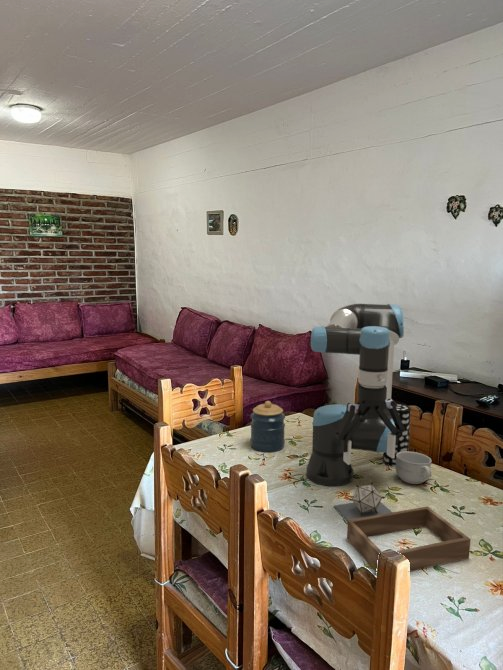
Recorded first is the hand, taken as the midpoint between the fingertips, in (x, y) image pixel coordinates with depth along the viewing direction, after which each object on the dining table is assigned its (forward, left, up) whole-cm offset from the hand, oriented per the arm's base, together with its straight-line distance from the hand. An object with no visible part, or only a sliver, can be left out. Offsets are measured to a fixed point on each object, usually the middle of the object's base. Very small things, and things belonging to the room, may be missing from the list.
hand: (369, 459), depth 134 cm
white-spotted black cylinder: (-28, +28, -16) cm, 43 cm away
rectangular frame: (+17, +1, -16) cm, 24 cm away
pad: (0, 0, -16) cm, 16 cm away
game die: (0, 0, -16) cm, 16 cm away
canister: (-55, -10, -16) cm, 58 cm away
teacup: (-13, +25, -16) cm, 32 cm away
